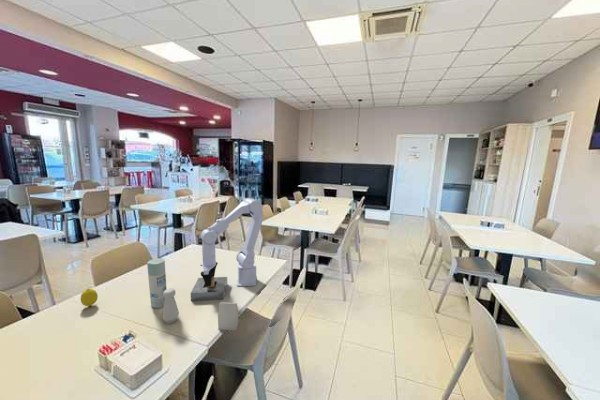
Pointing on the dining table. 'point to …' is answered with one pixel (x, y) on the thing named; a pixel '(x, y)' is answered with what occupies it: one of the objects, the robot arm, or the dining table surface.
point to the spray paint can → (157, 281)
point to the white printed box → (228, 316)
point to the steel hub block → (209, 290)
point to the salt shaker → (170, 306)
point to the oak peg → (212, 283)
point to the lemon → (89, 297)
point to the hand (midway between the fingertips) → (210, 281)
